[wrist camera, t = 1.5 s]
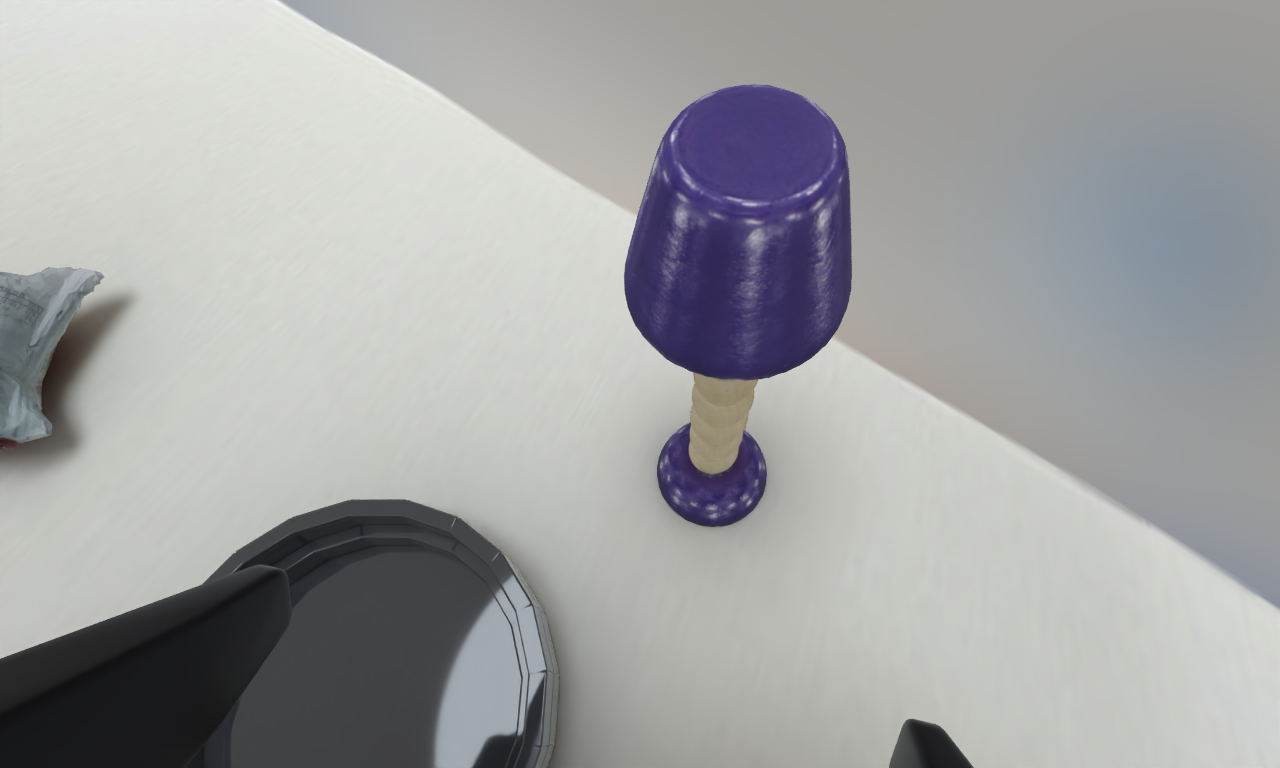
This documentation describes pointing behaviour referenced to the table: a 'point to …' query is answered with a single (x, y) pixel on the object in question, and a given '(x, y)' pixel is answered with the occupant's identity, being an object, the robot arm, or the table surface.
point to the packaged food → (33, 343)
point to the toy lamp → (738, 275)
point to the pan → (393, 649)
